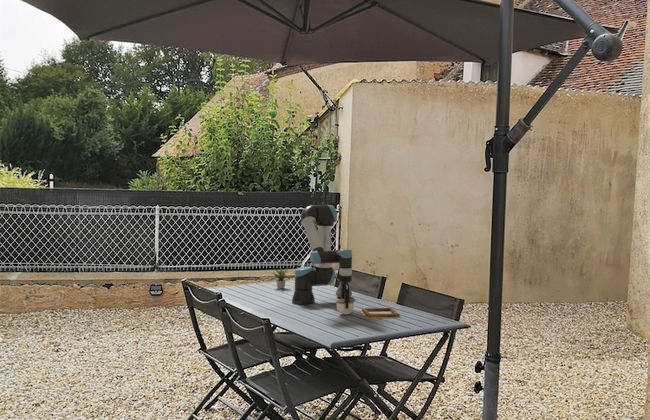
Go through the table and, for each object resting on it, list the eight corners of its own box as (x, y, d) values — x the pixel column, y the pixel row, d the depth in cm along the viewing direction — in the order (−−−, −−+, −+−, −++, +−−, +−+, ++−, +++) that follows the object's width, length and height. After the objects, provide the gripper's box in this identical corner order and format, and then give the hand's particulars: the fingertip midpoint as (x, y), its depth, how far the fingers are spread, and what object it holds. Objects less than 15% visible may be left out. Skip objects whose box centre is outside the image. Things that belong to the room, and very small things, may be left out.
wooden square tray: (359, 310, 357) (359, 307, 357) (393, 310, 360) (393, 307, 360) (365, 318, 335) (365, 315, 335) (402, 317, 338) (402, 314, 338)
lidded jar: (349, 310, 353) (349, 295, 353) (357, 314, 343) (357, 298, 343) (333, 311, 349) (333, 296, 349) (340, 315, 339) (340, 299, 339)
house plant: (284, 286, 448) (284, 265, 448) (294, 288, 438) (294, 266, 437) (268, 288, 439) (268, 266, 439) (279, 290, 429) (279, 268, 428)
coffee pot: (355, 298, 399) (355, 276, 399) (341, 299, 393) (341, 277, 393) (337, 293, 417) (338, 272, 417) (324, 295, 411) (324, 273, 410)
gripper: (336, 272, 356) (336, 307, 357) (342, 278, 333) (341, 316, 334) (348, 271, 357) (348, 307, 358) (354, 278, 334) (354, 315, 335)
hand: (345, 311), depth 346 cm, fingers closed on lidded jar, 11 cm apart
